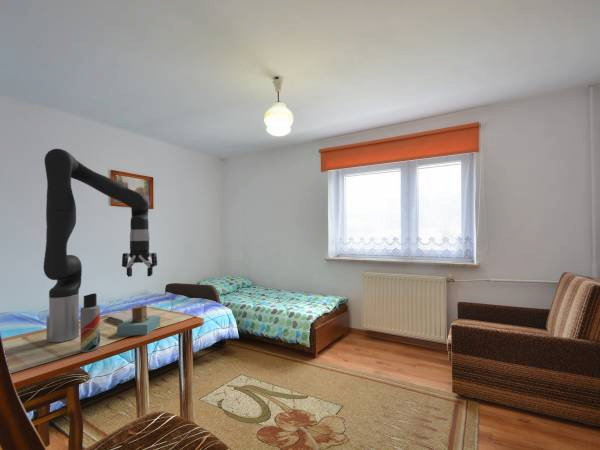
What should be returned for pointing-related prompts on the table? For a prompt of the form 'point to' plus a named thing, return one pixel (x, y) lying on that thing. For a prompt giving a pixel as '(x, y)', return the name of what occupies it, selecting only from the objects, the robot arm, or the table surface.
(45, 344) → the table surface
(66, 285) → the robot arm
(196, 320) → the table surface
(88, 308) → the lotion bottle
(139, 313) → the peg
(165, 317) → the table surface
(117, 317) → the washcloth
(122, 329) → the socket block
